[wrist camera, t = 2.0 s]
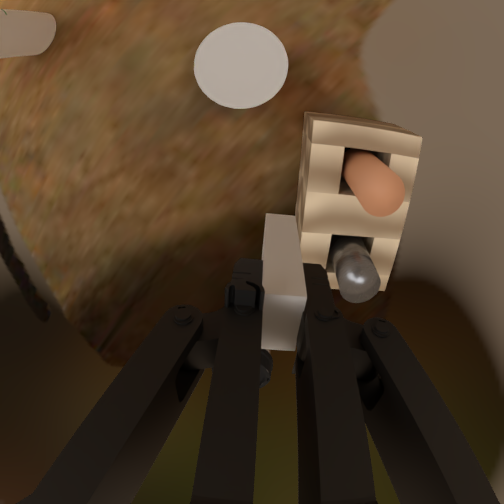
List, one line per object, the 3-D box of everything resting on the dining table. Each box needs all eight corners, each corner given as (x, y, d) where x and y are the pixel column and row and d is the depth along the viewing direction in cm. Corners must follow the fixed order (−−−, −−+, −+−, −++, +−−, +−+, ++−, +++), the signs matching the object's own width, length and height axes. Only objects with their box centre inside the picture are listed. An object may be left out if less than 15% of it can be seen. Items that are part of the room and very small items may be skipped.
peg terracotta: (341, 145, 32) (363, 167, 25) (378, 150, 32) (409, 174, 25) (337, 182, 35) (355, 214, 27) (372, 186, 34) (399, 218, 27)
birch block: (304, 111, 36) (313, 120, 28) (393, 123, 36) (422, 137, 28) (291, 249, 46) (294, 286, 39) (368, 254, 46) (384, 290, 38)
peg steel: (330, 225, 38) (344, 267, 30) (364, 228, 37) (385, 269, 30) (325, 256, 40) (336, 302, 32) (357, 258, 40) (374, 303, 32)
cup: (248, 27, 31) (239, 5, 21) (296, 70, 33) (307, 65, 23) (203, 71, 34) (175, 69, 24) (250, 113, 37) (241, 126, 26)
